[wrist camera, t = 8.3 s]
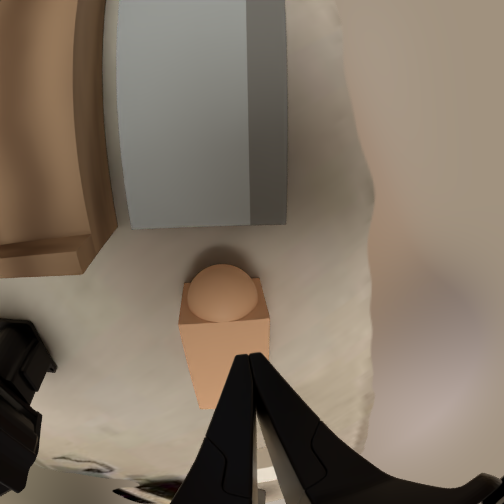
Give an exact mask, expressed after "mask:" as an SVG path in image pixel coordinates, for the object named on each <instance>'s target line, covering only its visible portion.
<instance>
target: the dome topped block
mask: <svg viewBox="0 0 504 504" xmlns="http://www.w3.org/2000/svg"><path fill="white" fill-rule="evenodd" d="M178 326H179V330H180V335H181V339H182V343H183V347H184V351H185V356H186V360H187V363H188V367H189V371H190V375H191V379H192V382H193V386H194V390H195V393H196V397H197V400H198V404H199V407H200V409H216V406H217V403H218V401H219V398H220V395H221V393H222V390H223V387H224V385H225V382H226V379H227V376H228V374H229V371H230V368H231V366H232V363H233V360H234V357H235V356H236V355H239V354H248V356H249V354H250V353H255V352H261V353H262V354H263V355H264V356H265V357H266V358H267V360H268V361H269V332H270V317H269V313H268V309H267V305H266V302H265V298H264V294H263V290H262V286H261V282H260V279H259V278H252V279H251V278H250V277H249V275H248V274H246V273H245V272H244V271H243V270H241V269H240V268H238V267H235V266H232V265H228V264H217V265H212V266H210V267H207V268H205V269H203V270H202V271H201V272H199V273H198V274H197V275H196V277H195V278H194V279H193V281H192V282H191V283H184V288H183V294H182V301H181V308H180V315H179V323H178Z"/></svg>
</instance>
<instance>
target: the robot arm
mask: <svg viewBox="0 0 504 504" xmlns="http://www.w3.org/2000/svg"><path fill="white" fill-rule="evenodd" d="M56 370H57V367H56V366H55V364H54V362H53V361H52V359H51V357H50V355H49V354H48V352H47V350H46V348H45V347H44V345H43V343H42V341H41V339H40V337H39V335H38V334H37V332H36V330H35V328H34V326H33V324H32V323H31V322H29V321H22V320H8V319H0V496H2V495H4V494H6V493H7V492H9V491H11V490H13V491H14V492H16V493H19V492H21V491H22V490H23V489H24V488H25V486H26V481H27V476H28V471H29V469H30V466H32V464H33V463H34V461H35V460H36V457H37V454H38V450H39V440H40V430H41V422H42V414H40V413H39V412H36V411H35V410H34V409H33V408H32V407H30V404H31V401H32V399H33V397H34V394H35V392H38V390H39V388H40V386H41V384H42V381H43V379H44V377H45V374H46V372H52V373H55V372H56ZM256 414H257V417H258V421H259V424H260V427H261V431H262V434H263V437H264V440H265V443H266V446H267V449H268V452H269V455H270V458H271V461H272V464H273V467H274V470H275V473H276V476H277V479H278V482H279V485H280V488H281V491H282V493H283V496H284V499H285V502H286V504H504V476H503V477H501V478H500V479H499V478H497V477H495V476H492V475H489V474H486V473H481V474H479V475H478V476H476V477H475V478H474V479H472V480H471V481H469V482H468V483H467V484H465V485H463V486H461V487H458V488H451V489H450V488H441V487H435V486H430V485H425V484H420V483H415V482H411V481H407V480H403V479H399V478H396V477H393V476H390V475H388V474H386V473H385V472H383V471H381V470H380V469H378V468H377V467H375V466H374V465H373V464H371V463H370V462H369V461H367V460H366V459H364V458H363V457H362V456H361V455H359V454H358V453H357V452H355V451H354V450H353V449H351V448H350V447H349V446H348V445H347V444H345V443H344V442H343V441H342V440H341V439H339V438H338V437H337V436H336V435H335V434H334V433H333V432H332V431H331V430H330V429H329V428H328V427H327V426H326V425H325V424H324V422H323V421H320V418H319V417H318V416H317V415H316V414H315V413H314V412H313V411H312V410H311V408H310V407H309V406H308V405H307V404H306V403H305V402H304V401H303V400H302V399H301V397H300V396H299V395H298V394H297V393H296V392H295V391H294V390H293V388H292V387H291V386H290V385H289V384H288V383H287V382H286V380H285V379H284V378H283V377H282V376H281V375H280V374H279V372H278V371H277V370H276V369H275V368H274V367H273V365H272V364H271V363H270V362H269V361H268V360H267V358H266V357H265V356H264V355H263V354H262V353H261V352H255V353H250V354H249V356H248V354H239V355H236V356H235V357H234V360H233V363H232V366H231V368H230V371H229V374H228V376H227V379H226V382H225V385H224V387H223V390H222V393H221V395H220V398H219V401H218V403H217V406H216V409H215V411H214V414H213V417H212V419H211V422H210V425H209V427H208V430H207V433H206V435H205V436H206V437H205V438H204V440H203V443H202V445H201V448H200V450H199V452H198V455H197V457H196V459H195V461H194V463H193V465H192V467H191V469H190V471H189V473H188V474H187V476H186V478H185V480H184V481H183V483H182V485H181V486H180V488H179V490H178V491H177V493H176V494H175V496H174V498H173V499H172V501H171V503H170V504H258V489H257V431H256Z"/></svg>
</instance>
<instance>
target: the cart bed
mask: <svg viewBox="0 0 504 504" xmlns="http://www.w3.org/2000/svg"><path fill="white" fill-rule="evenodd" d="M105 3H106V0H0V278H18V277H40V276H62V275H81V274H83V273H84V272H85V270H86V269H87V268H88V266H89V265H90V263H91V262H92V261H93V259H94V258H95V256H96V255H97V254H98V252H99V251H100V250H101V248H102V247H103V245H104V244H105V243H106V241H107V240H108V239H109V238H110V236H111V235H112V234H113V232H114V231H115V230H116V228H117V227H118V225H117V220H116V214H115V208H114V202H113V196H112V190H111V183H110V176H109V168H108V160H107V151H106V140H105V129H104V114H103V92H102V48H103V27H104V14H105Z"/></svg>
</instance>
